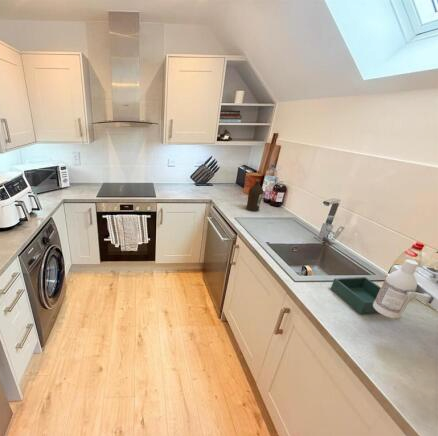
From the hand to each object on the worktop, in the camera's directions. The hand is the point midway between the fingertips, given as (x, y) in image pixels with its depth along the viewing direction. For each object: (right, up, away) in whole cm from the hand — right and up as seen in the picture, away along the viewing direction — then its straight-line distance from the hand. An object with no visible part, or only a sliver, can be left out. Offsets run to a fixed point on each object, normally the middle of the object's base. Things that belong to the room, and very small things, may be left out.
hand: (396, 284), depth 76 cm
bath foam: (+1, -10, +4) cm, 11 cm away
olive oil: (+6, +29, +119) cm, 122 cm away
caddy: (+9, -13, +23) cm, 28 cm away
